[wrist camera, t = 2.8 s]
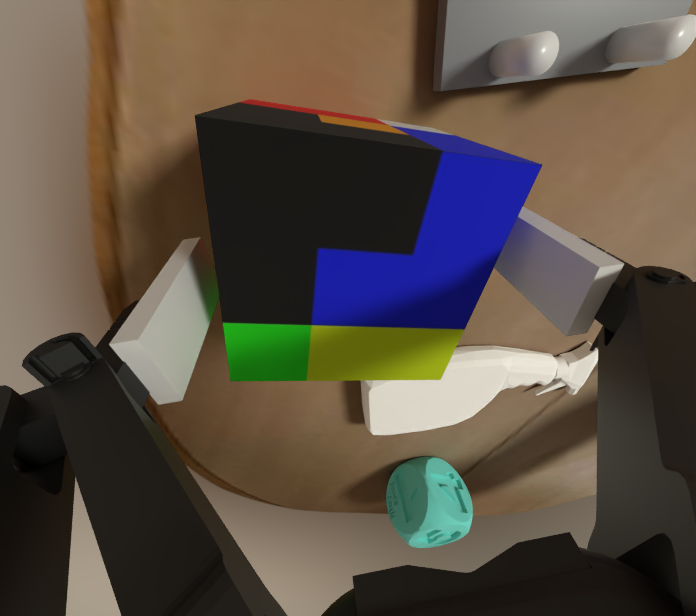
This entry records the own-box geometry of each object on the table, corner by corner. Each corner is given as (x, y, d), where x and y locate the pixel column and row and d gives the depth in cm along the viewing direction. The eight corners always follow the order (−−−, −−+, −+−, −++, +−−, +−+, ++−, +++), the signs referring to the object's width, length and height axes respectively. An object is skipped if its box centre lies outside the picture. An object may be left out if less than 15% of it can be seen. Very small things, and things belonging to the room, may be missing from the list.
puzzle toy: (431, 127, 17) (542, 164, 9) (392, 277, 23) (440, 380, 15) (250, 99, 15) (194, 115, 7) (257, 269, 21) (230, 381, 13)
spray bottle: (358, 353, 28) (602, 317, 30) (362, 420, 35) (562, 388, 36) (363, 378, 26) (629, 337, 27) (366, 444, 32) (580, 409, 34)
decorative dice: (416, 451, 40) (438, 521, 33) (457, 461, 43) (484, 527, 37) (380, 478, 43) (393, 546, 37) (420, 486, 47) (438, 550, 40)
